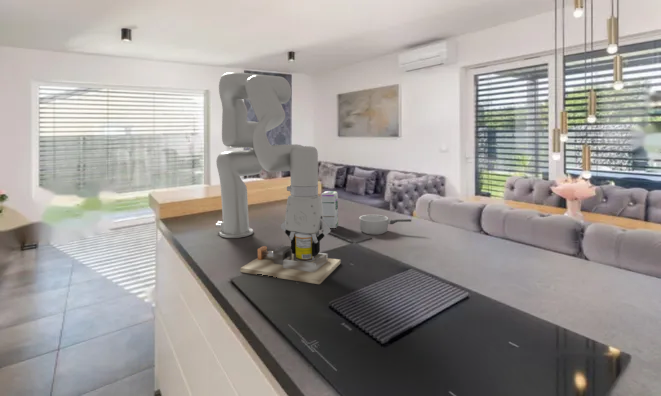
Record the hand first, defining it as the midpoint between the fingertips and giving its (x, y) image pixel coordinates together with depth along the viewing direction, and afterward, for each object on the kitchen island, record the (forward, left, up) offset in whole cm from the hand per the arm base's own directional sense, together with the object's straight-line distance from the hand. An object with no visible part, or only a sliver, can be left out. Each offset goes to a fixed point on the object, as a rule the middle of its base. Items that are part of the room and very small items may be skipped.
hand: (305, 253), depth 105 cm
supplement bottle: (0, 0, -2) cm, 2 cm away
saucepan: (+13, +45, -5) cm, 47 cm away
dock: (-4, -1, -4) cm, 6 cm away
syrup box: (-10, +45, -5) cm, 46 cm away
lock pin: (-11, 0, -3) cm, 11 cm away
